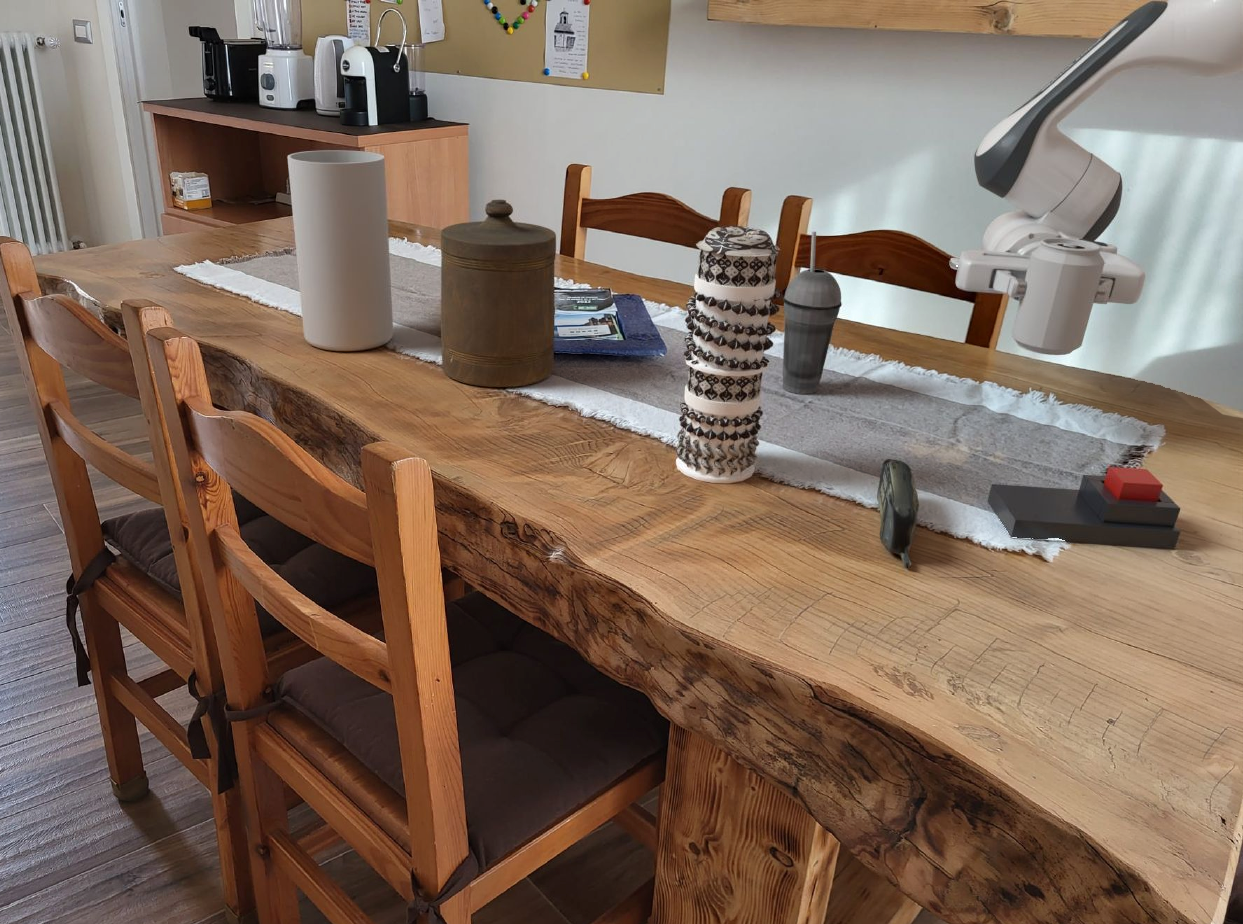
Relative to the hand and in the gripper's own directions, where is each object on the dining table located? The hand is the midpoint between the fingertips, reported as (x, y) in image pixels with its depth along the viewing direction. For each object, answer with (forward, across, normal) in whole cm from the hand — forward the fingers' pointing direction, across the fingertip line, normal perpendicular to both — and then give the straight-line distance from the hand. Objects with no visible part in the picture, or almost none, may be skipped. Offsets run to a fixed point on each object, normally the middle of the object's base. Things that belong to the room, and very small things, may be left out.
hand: (1060, 293), depth 110 cm
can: (-1, 0, +7) cm, 7 cm away
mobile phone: (+30, -18, +17) cm, 39 cm away
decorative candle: (+20, -35, +17) cm, 44 cm away
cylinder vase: (-11, -90, +17) cm, 92 cm away
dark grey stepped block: (+24, 0, +17) cm, 29 cm away
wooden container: (-4, -66, +17) cm, 68 cm away
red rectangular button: (+23, +4, +13) cm, 27 cm away
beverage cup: (-9, -26, +17) cm, 33 cm away
